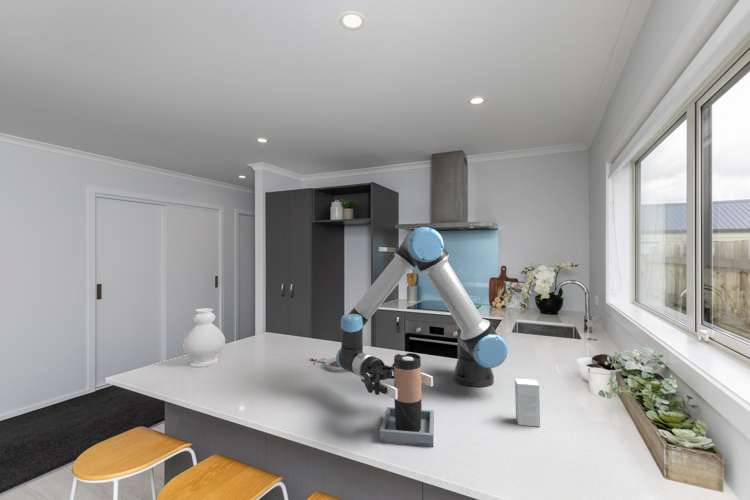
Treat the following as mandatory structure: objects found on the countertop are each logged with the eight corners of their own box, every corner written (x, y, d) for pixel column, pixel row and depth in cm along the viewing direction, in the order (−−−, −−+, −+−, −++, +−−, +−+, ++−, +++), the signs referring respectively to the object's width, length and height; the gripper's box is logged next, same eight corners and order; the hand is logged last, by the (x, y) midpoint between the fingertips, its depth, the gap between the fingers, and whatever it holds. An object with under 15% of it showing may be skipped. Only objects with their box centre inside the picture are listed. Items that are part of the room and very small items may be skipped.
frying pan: (320, 351, 168) (369, 358, 154) (321, 357, 168) (369, 364, 154) (297, 361, 153) (348, 369, 139) (297, 367, 153) (349, 376, 139)
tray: (433, 420, 101) (433, 410, 101) (433, 447, 87) (433, 435, 87) (387, 417, 104) (387, 407, 104) (379, 442, 90) (379, 430, 90)
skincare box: (536, 420, 101) (536, 379, 101) (540, 427, 97) (539, 385, 97) (515, 418, 102) (514, 378, 102) (517, 425, 98) (517, 383, 98)
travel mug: (414, 437, 90) (413, 362, 91) (389, 430, 94) (388, 358, 95) (426, 425, 97) (425, 355, 97) (402, 418, 101) (401, 351, 101)
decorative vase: (213, 354, 171) (212, 305, 171) (233, 361, 161) (232, 308, 161) (175, 364, 157) (175, 310, 157) (194, 372, 146) (194, 314, 146)
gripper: (397, 370, 118) (445, 389, 101) (336, 389, 103) (379, 415, 86) (397, 349, 118) (444, 364, 101) (335, 364, 103) (379, 385, 86)
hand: (415, 387), depth 93 cm, fingers open, 13 cm apart
